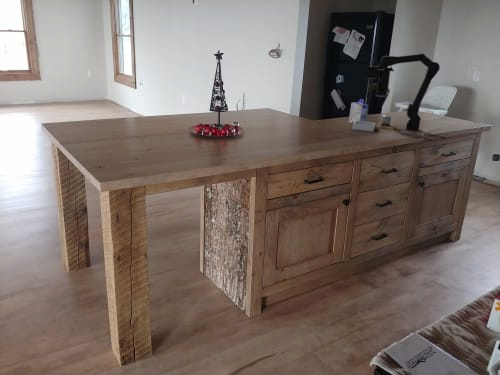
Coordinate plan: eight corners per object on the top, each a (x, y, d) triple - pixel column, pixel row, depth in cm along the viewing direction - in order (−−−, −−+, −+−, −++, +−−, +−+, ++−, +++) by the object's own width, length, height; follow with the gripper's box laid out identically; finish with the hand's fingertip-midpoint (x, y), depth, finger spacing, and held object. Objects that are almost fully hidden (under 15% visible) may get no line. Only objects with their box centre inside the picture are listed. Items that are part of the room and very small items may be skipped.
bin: (374, 129, 257) (375, 122, 256) (372, 133, 247) (373, 126, 246) (354, 127, 261) (355, 120, 259) (352, 130, 251) (352, 123, 249)
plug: (390, 127, 261) (392, 115, 259) (389, 128, 257) (391, 116, 255) (381, 126, 263) (383, 114, 261) (380, 127, 258) (382, 115, 256)
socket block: (394, 128, 263) (395, 125, 262) (393, 131, 254) (394, 127, 253) (377, 126, 266) (377, 123, 266) (375, 129, 257) (375, 125, 257)
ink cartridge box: (366, 125, 270) (369, 100, 265) (359, 125, 267) (362, 100, 263) (355, 121, 278) (358, 98, 273) (348, 122, 275) (351, 98, 271)
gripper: (371, 77, 265) (368, 103, 270) (367, 79, 248) (364, 108, 253) (391, 78, 261) (387, 105, 266) (388, 80, 244) (385, 109, 249)
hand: (380, 106), depth 259 cm, fingers open, 9 cm apart
